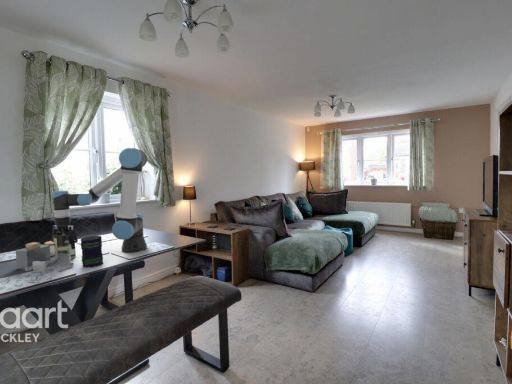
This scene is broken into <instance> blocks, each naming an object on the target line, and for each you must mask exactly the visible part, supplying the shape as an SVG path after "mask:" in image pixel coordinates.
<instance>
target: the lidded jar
mask: <svg viewBox="0 0 512 384" xmlns="http://www.w3.org/2000/svg"><path fill="white" fill-rule="evenodd" d="M43 245H50V255H51V256H55V250H54V242H52V241H51V240H49V241H48V240H47V241H46V242H44V243H43Z"/></svg>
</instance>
